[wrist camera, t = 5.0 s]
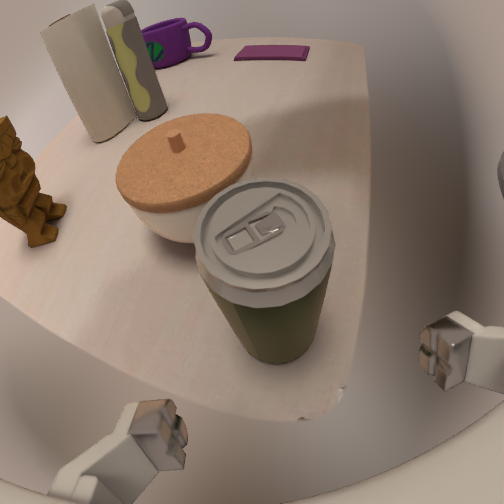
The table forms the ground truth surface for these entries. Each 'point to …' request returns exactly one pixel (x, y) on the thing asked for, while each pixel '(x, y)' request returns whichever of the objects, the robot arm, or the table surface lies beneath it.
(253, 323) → the beer can
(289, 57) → the flat purple rectangular slab
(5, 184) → the wooden tiki figurine
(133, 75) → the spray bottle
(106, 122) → the paper towel roll
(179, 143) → the trinket box
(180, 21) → the mug
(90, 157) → the table surface
